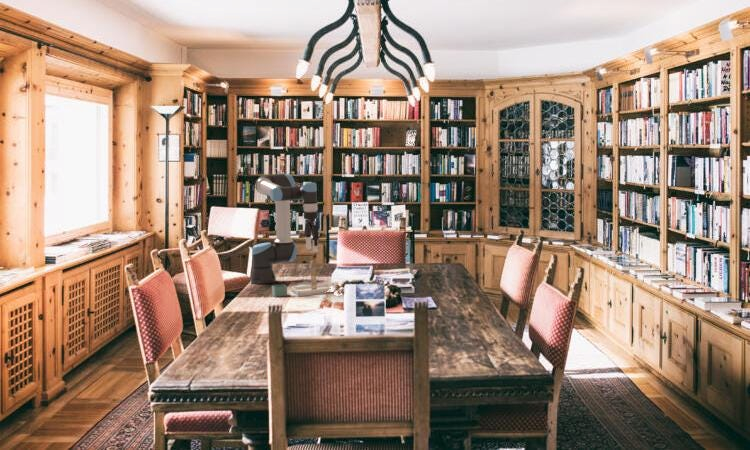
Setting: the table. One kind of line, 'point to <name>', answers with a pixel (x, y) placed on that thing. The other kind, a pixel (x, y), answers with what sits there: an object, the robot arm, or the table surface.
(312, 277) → the dowel
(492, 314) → the table surface
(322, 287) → the tray
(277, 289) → the pen cup
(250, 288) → the table surface
